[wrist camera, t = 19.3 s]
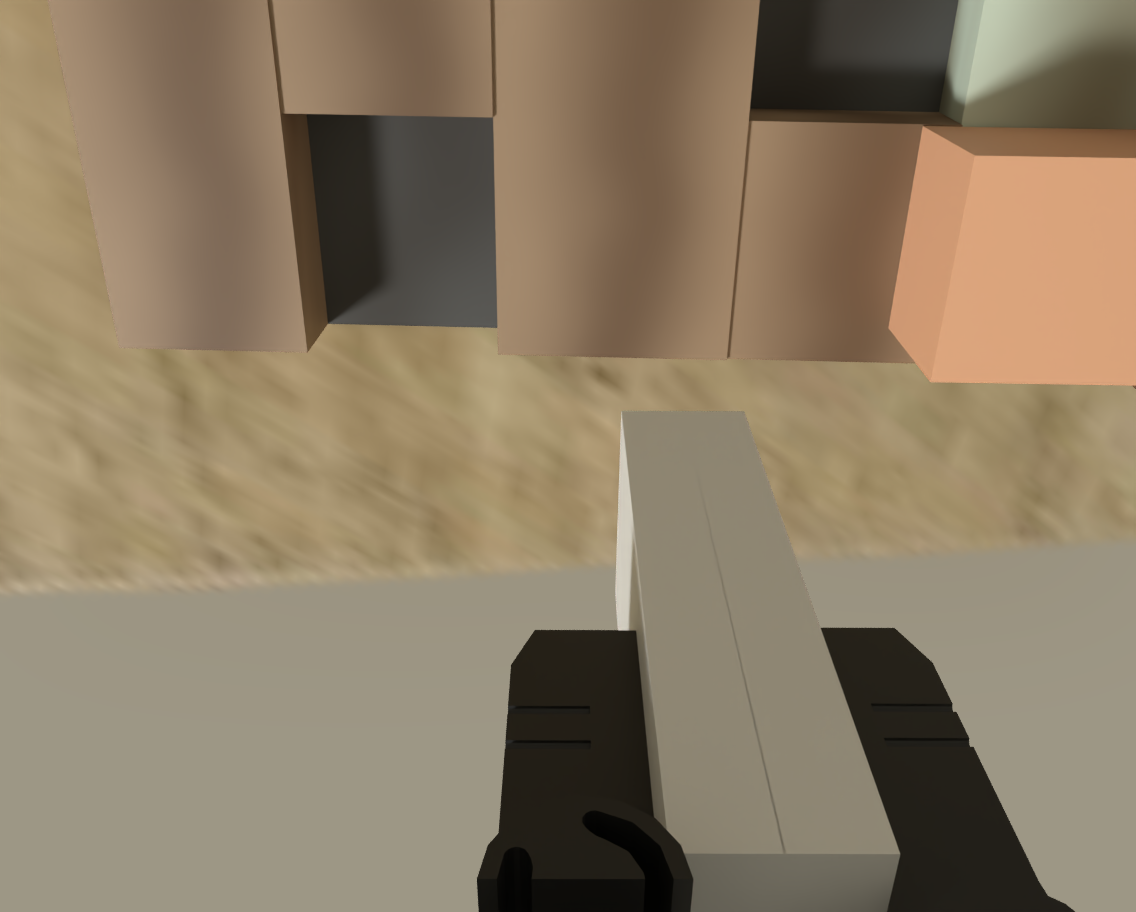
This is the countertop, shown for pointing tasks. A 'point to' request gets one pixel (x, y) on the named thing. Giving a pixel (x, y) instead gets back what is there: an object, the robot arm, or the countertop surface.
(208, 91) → the board
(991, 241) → the block
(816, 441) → the countertop surface
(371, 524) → the countertop surface
